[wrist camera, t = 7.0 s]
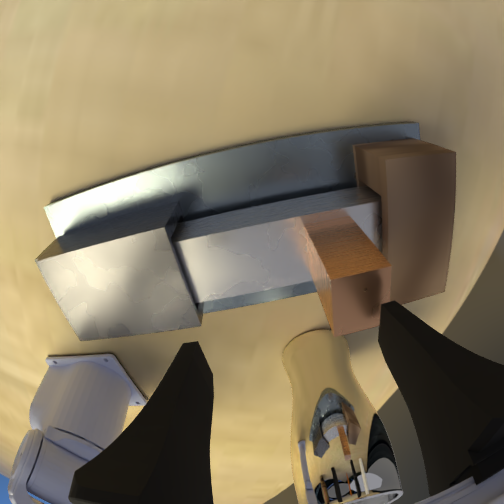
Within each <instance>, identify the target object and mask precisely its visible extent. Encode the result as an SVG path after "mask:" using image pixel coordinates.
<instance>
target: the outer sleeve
mask: <svg viewBox="0 0 504 504" xmlns="http://www.w3.org/2000/svg"><path fill="white" fill-rule="evenodd" d="M411 138H415V139H418V140H420V132H419V123H416V122H401V123H388V124H377V125H366V126H357V127H348V128H340V129H333V130H325V131H318V132H312V133H305V134H299V135H293V136H287V137H281V138H276V139H271V140H265V141H260V142H255V143H250V144H245V145H241V146H236V147H232V148H227V149H223V150H218V151H214V152H210V153H206V154H202V155H198V156H194V157H190V158H186V159H182V160H179V161H175V162H171V163H168V164H164V165H161V166H157V167H154V168H150V169H147V170H144V171H140V172H137V173H134V174H131V175H128V176H124V177H121V178H118V179H115V180H112V181H109V182H106V183H103V184H101V185H98V186H95V187H92V188H89V189H86V190H84V191H81V192H78V193H76V194H73V195H70V196H68V197H65V198H62V199H60V200H57V201H55V202H52V203H50V204H48V205H47V206H45V207H44V209H45V212H46V214H47V217H48V219H49V222H50V224H51V227H52V229H53V231H54V234H55V236H56V238H57V239H55V240H54V241H53V242H52V243H51V244H50V245H49V246H48V247H47V248H46V249H45V250H44V251H43V252H42V253H41V254H40V255H39V256H38V257H37V258H36V259H35V262H36V264H37V266H38V268H39V270H40V272H41V274H42V276H43V278H44V280H45V281H46V283H47V285H48V287H49V289H50V291H51V293H52V294H53V296H54V298H55V300H56V302H57V303H58V305H59V307H60V309H61V310H62V312H63V314H64V315H65V317H66V319H67V320H68V322H69V324H70V325H71V327H72V328H73V330H74V332H75V333H76V335H77V336H78V338H79V339H80V341H86V340H97V339H107V338H116V337H125V336H133V335H141V334H149V333H157V332H164V331H171V330H178V329H185V328H192V327H198V326H201V324H202V316H203V313H209V312H215V311H221V310H227V309H232V308H238V307H243V306H248V305H254V304H259V303H264V302H269V301H274V300H279V299H284V298H289V297H294V296H299V295H304V294H308V293H313V292H317V290H316V287H315V284H314V282H313V281H308V282H303V283H298V284H294V285H289V286H284V287H279V288H274V289H269V290H264V291H259V292H254V293H248V294H243V295H238V296H233V297H227V298H222V299H216V300H211V301H205V302H199V303H194V301H193V298H192V296H191V293H190V290H189V288H188V285H187V282H186V280H185V277H184V274H183V271H182V269H181V266H180V263H179V260H178V258H177V255H176V252H175V249H174V246H173V243H172V241H171V237H172V234H173V232H174V230H175V228H176V226H177V224H178V223H182V222H186V221H191V220H195V219H199V218H204V217H208V216H213V215H217V214H222V213H226V212H231V211H236V210H240V209H245V208H250V207H254V206H259V205H264V204H269V203H274V202H279V201H284V200H289V199H294V198H300V197H305V196H310V195H316V194H321V193H327V192H332V191H338V190H343V189H349V188H355V187H357V182H356V172H355V163H354V154H353V146H352V145H356V144H364V143H372V142H381V141H390V140H400V139H411Z"/></svg>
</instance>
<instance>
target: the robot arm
mask: <svg viewBox="0 0 504 504" xmlns="http://www.w3.org/2000/svg"><path fill="white" fill-rule="evenodd" d="M378 342H379V345H380V348H381V350H382V353H383V356H384V359H385V361H386V363H387V365H388V368H389V369H390V371H391V373H392V375H393V377H394V379H395V381H396V383H397V385H398V387H399V389H400V391H401V393H402V395H403V397H404V400H405V402H406V404H407V406H408V408H409V411H410V413H411V417H412V420H413V423H414V426H415V429H416V432H417V436H418V439H419V443H420V446H421V451H422V455H423V459H424V464H425V469H426V474H427V480H428V487H429V494H430V497H429V498H427V499H425V500H423V501H420V502H417V503H415V504H504V365H502V364H499V363H496V362H493V361H491V360H488V359H486V358H484V357H481V356H479V355H477V354H475V353H473V352H471V351H469V350H467V349H465V348H463V347H462V346H460V345H458V344H456V343H455V342H453V341H451V340H450V339H448V338H447V337H445V336H443V335H442V334H440V333H439V332H437V331H436V330H434V329H433V328H432V327H430V326H429V325H427V324H426V323H425V322H423V321H422V320H420V319H419V318H418V317H416V316H415V315H414V314H412V313H411V312H410V311H408V310H407V309H406V308H404V307H403V306H402V305H400V304H399V303H398V302H396V301H395V300H394V301H391V302H387V303H383V304H381V312H380V325H379V336H378ZM46 363H47V364H48V365H49V368H48V370H47V372H46V374H45V376H44V378H43V380H42V382H41V384H40V386H39V388H38V390H37V392H36V395H35V397H34V399H33V401H32V403H31V406H30V413H29V416H30V424H31V427H32V430H29V431H28V432H27V433H26V435H25V437H24V439H23V441H22V443H21V445H20V447H19V450H18V452H17V455H16V458H15V460H14V464H13V467H12V471H11V478H10V481H9V485H8V492H9V498H10V500H11V502H12V503H13V504H44V503H42V502H40V501H38V500H36V499H34V498H33V497H31V496H30V495H28V493H27V491H28V492H30V493H31V494H33V495H35V496H37V497H39V498H41V499H43V500H45V501H47V502H49V503H51V504H213V495H212V485H211V472H210V436H211V424H212V413H213V400H214V389H213V374H212V372H211V369H210V367H209V365H208V363H207V361H206V358H205V356H204V354H203V352H202V350H201V347H200V345H199V343H198V341H197V342H190V343H183V344H182V346H181V348H180V349H179V351H178V353H177V355H176V357H175V358H174V360H173V362H172V364H171V365H170V367H169V369H168V371H167V372H166V374H165V376H164V377H163V379H162V381H161V382H160V384H159V386H158V387H157V389H156V390H155V392H154V393H153V395H152V396H151V398H150V399H149V401H148V402H147V401H146V399H145V398H144V397H143V395H142V394H141V393H140V391H139V390H138V389H137V387H136V386H135V385H134V383H133V382H132V380H131V379H130V378H129V376H128V375H127V373H126V372H125V370H124V369H123V368H122V366H121V365H120V363H119V362H118V360H117V359H116V357H115V356H114V355H112V354H99V355H84V356H64V357H47V358H46ZM146 403H147V404H146ZM135 405H145V406H144V408H143V409H142V410H141V412H140V413H139V414H138V415H137V417H136V418H135V419H134V420H133V421H132V423H131V424H130V425H129V426H128V427H127V428H126V429H125V430H124V431H123V432H122V430H123V426H124V422H125V418H126V414H127V410H128V406H135Z"/></svg>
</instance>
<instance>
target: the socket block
mask: <svg viewBox="0 0 504 504" xmlns="http://www.w3.org/2000/svg"><path fill="white" fill-rule="evenodd" d="M352 146H353V154H354V163H355V172H356V182H357V187H361V186H368V187H370V188H371V189H372V190H374V191H375V192H376V193H378V194H379V195H380V196H381V204H382V254H383V256H384V257H385V258H386V259H387V261H388V262H389V263H390V264H391V266H392V270H391V289H390V302H391V301H394V300H395V301H396V302H398V303H399V304H400V305H402V304H405V303H409V302H412V301H415V300H419V299H422V298H425V297H429V296H432V295H435V294H438V293H441V292H444V291H445V286H446V281H447V274H448V268H449V261H450V253H451V245H452V236H453V225H454V212H455V192H456V152H454V151H451V150H448V149H445V148H442V147H440V146H437V145H434V144H431V143H427V142H424V141H421V140H418V139H415V138H411V139H400V140H390V141H381V142H372V143H364V144H356V145H352Z"/></svg>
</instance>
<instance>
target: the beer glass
mask: <svg viewBox="0 0 504 504" xmlns="http://www.w3.org/2000/svg"><path fill="white" fill-rule="evenodd" d="M282 362H283V366H284V369H285V371H286V373H287V376H288V378H289V381H290V384H291V388H292V397H293V400H292V421H291V441H290V454H291V465H292V473H293V479H294V485H295V489H296V494H297V498H298V502H299V504H390V503H391V502H393V501H395V500H397V499H398V498H399V497H400V496H402V494H403V491H402V488H401V483H400V478H399V473H398V468H397V464H396V459H395V455H394V452H393V449H392V445H391V442H390V440H389V437H388V434H387V432H386V429H385V427H384V425H383V423H382V421H381V419H380V417H379V416H378V413H377V412H376V410H375V408H374V407H373V405H372V403H371V402H370V400H369V399H368V397H367V395H366V394H365V392H364V391H363V389H362V388H361V386H360V384H359V382H358V381H357V379H356V377H355V375H354V372H353V369H352V366H351V360H350V351H349V346H348V342H347V340H346V339H345V337H344V336H343V335H342V336H337V337H334V336H333V333H332V330H326V329H321V330H313V331H309V332H306V333H304V334H302V335H300V336H298V337H296V338H295V339H293V340H292V341H291V342H290V343H289V344H288V345H287V346H286V348H285V349H284V352H283V355H282Z"/></svg>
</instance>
